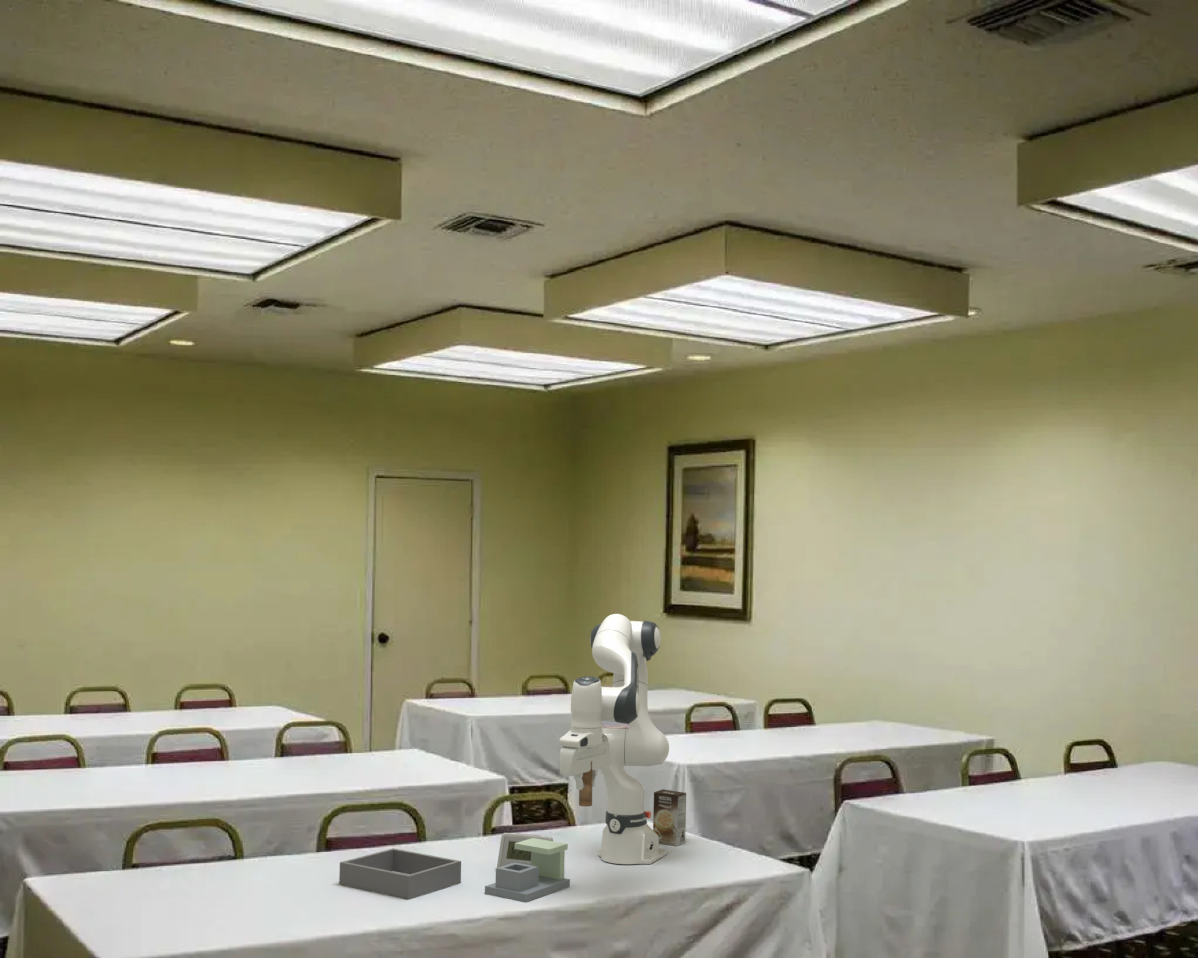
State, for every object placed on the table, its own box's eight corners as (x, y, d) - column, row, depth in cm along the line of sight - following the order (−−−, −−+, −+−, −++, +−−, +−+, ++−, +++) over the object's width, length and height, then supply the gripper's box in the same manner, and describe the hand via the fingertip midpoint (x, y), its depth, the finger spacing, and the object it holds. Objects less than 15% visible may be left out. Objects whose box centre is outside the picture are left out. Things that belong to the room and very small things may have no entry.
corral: (392, 869, 371) (393, 848, 371) (460, 882, 357) (461, 860, 357) (339, 884, 353) (339, 862, 353) (408, 899, 339) (409, 876, 339)
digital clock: (493, 871, 370) (494, 834, 370) (511, 865, 378) (511, 829, 378) (540, 880, 362) (541, 841, 362) (557, 873, 369) (558, 836, 370)
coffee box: (651, 842, 411) (652, 791, 412) (661, 838, 416) (662, 788, 417) (676, 846, 406) (677, 794, 407) (686, 842, 411) (687, 792, 412)
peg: (583, 803, 354) (584, 759, 354) (594, 804, 352) (595, 760, 352) (576, 805, 351) (576, 760, 351) (587, 806, 349) (587, 762, 349)
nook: (529, 878, 362) (530, 837, 363) (569, 886, 355) (570, 844, 355) (484, 893, 346) (485, 850, 347) (526, 901, 338) (527, 857, 339)
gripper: (597, 731, 363) (597, 780, 362) (555, 740, 346) (554, 792, 345) (616, 733, 359) (615, 783, 358) (574, 742, 342) (574, 794, 341)
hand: (585, 787), depth 351 cm, fingers closed on peg, 4 cm apart
